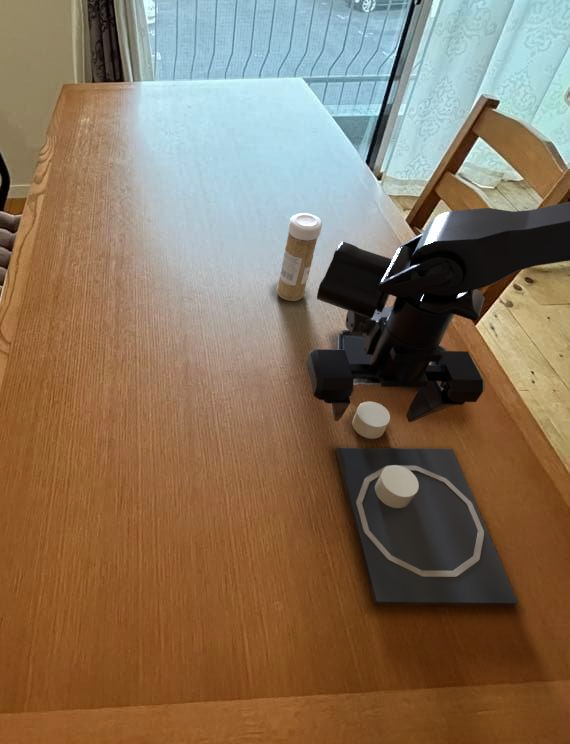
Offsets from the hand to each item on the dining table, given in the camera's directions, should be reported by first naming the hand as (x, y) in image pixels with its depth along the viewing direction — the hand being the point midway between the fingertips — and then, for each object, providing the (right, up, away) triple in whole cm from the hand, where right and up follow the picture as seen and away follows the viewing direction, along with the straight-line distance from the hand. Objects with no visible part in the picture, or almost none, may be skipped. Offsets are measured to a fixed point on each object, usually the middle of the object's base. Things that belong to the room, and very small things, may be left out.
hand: (371, 418), depth 69 cm
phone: (+6, +7, +9) cm, 13 cm away
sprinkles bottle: (-6, +17, +19) cm, 27 cm away
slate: (+2, -10, -8) cm, 13 cm away
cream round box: (0, -1, +1) cm, 2 cm away
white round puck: (0, -8, -7) cm, 10 cm away
